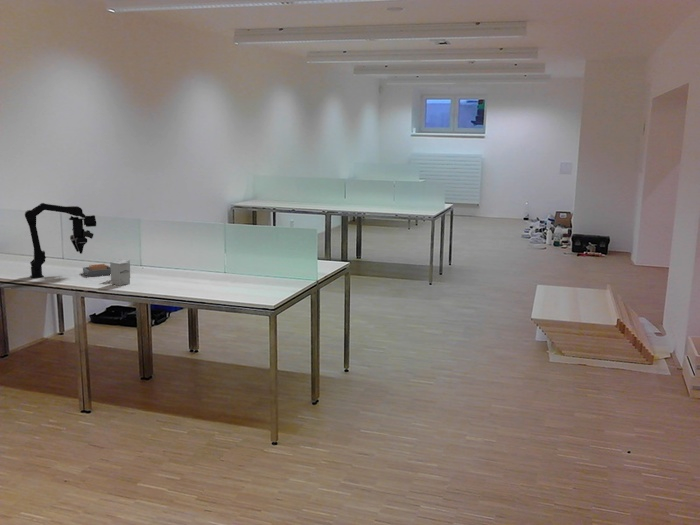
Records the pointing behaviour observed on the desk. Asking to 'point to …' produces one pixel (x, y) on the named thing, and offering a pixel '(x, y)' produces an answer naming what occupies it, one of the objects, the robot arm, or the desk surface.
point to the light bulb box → (122, 260)
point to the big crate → (96, 272)
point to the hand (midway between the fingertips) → (79, 252)
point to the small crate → (97, 267)
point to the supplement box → (120, 273)
